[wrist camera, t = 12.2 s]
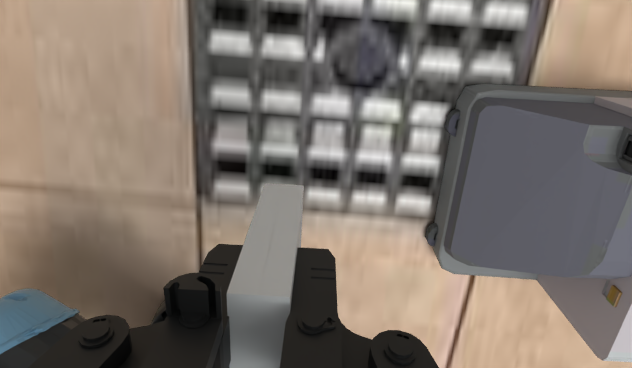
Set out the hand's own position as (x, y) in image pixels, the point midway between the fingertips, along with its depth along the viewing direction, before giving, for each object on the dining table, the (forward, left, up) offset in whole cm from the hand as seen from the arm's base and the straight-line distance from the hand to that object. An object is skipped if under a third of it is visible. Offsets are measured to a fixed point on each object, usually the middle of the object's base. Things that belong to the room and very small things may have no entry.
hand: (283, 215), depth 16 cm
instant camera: (+23, -7, -25) cm, 35 cm away
